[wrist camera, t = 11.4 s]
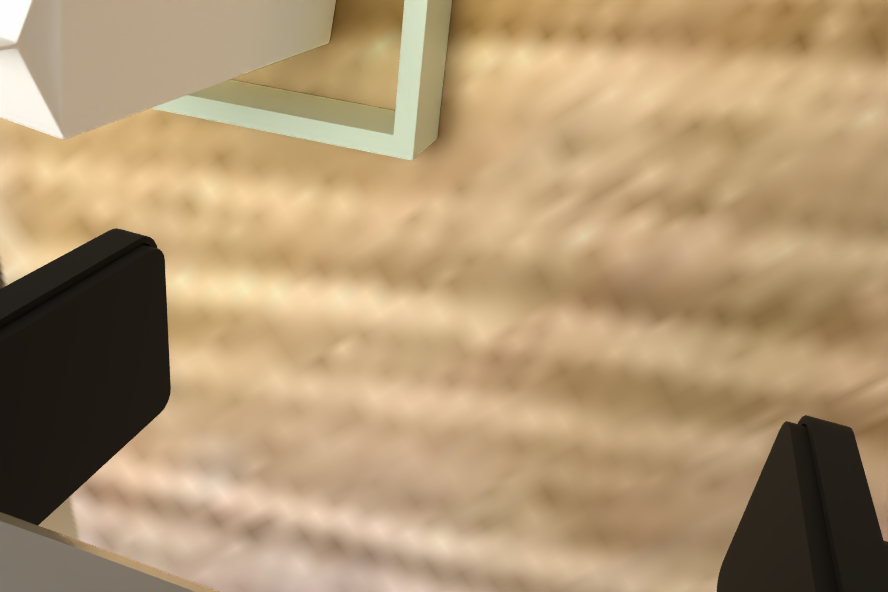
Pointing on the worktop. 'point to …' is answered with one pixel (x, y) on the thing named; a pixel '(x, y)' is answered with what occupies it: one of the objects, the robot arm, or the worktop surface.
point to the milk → (138, 53)
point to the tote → (341, 119)
